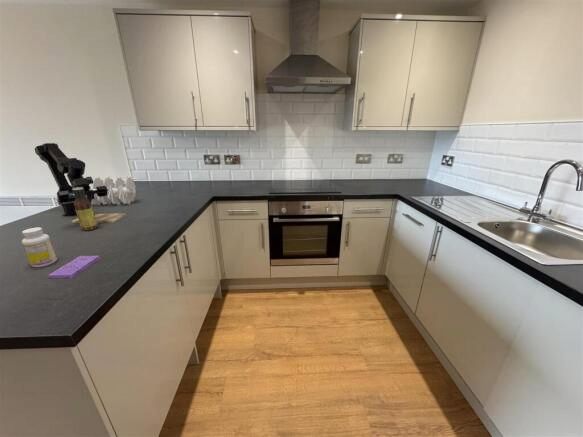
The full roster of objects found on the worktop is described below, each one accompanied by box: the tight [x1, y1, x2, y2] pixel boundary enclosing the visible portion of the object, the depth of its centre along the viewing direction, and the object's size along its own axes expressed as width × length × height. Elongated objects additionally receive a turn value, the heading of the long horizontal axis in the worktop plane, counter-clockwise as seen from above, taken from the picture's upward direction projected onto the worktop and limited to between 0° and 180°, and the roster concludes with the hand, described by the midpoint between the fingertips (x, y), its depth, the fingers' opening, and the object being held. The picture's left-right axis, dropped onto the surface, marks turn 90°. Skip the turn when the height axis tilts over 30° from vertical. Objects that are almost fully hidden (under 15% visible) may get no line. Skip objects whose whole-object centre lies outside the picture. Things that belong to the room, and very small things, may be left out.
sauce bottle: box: [72, 187, 98, 231], centre depth 111 cm, size 6×6×20 cm
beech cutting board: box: [71, 212, 127, 224], centre depth 128 cm, size 20×11×1 cm, turn 95°
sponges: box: [48, 255, 101, 279], centre depth 82 cm, size 7×13×2 cm, turn 2°
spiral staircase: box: [86, 176, 137, 206], centre depth 152 cm, size 18×18×25 cm
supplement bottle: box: [21, 226, 58, 268], centre depth 83 cm, size 7×7×13 cm
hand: (90, 207), depth 115 cm, fingers closed
